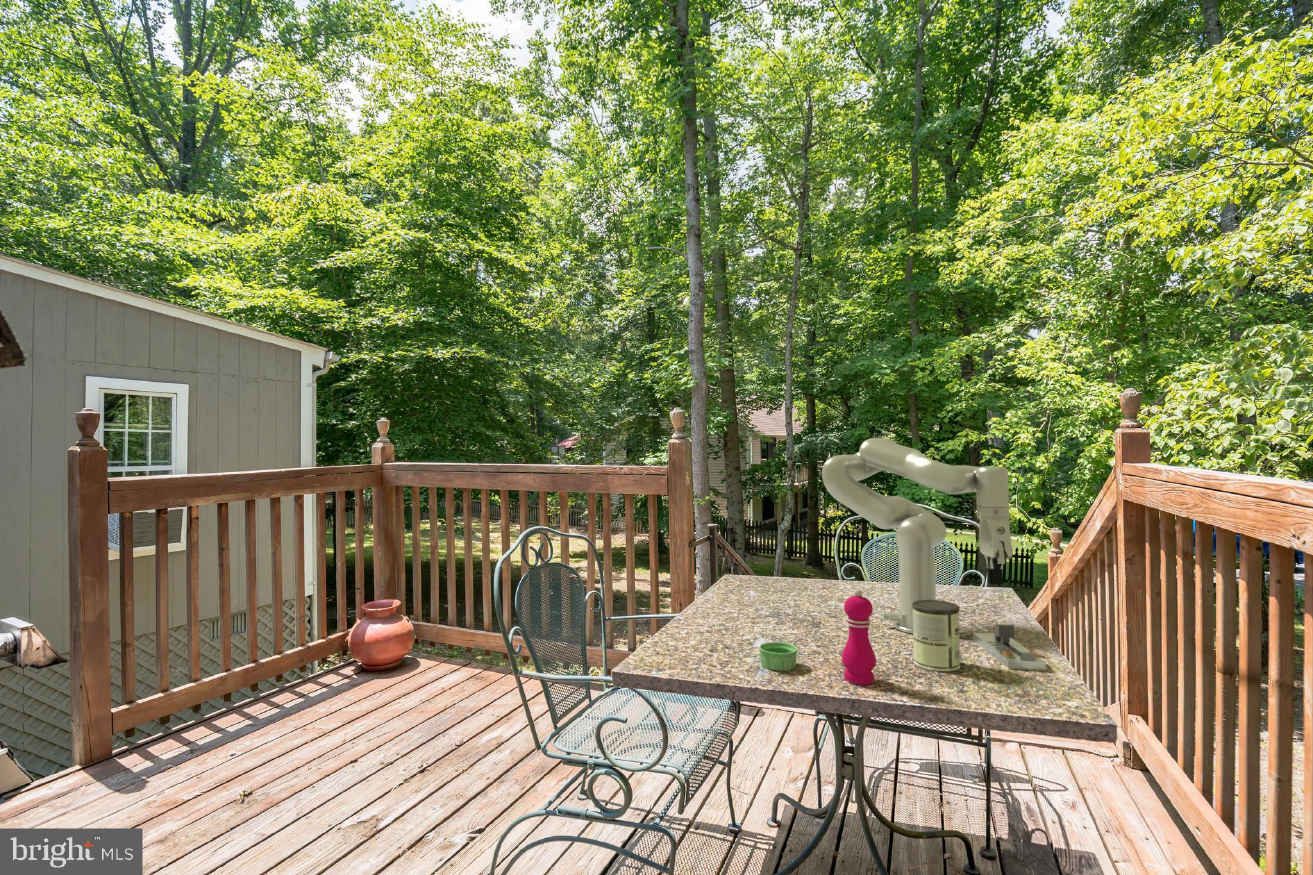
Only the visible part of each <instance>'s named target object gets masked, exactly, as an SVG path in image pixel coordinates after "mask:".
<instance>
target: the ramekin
mask: <svg viewBox="0 0 1313 875" xmlns="http://www.w3.org/2000/svg"><path fill="white" fill-rule="evenodd" d="M758 649H759V654H760V664H761V666H762V667H763V668H764V667H765V668H764V669H766V668H767V669H766V670H769V669H771V670H770V671H773V670H789V669H792V670H794V669H795V668H796V667H797V665H796V664H797V654H798V650H799V649H798V647H797V646H796V645H794V644H793V643H792V644H791V643H789V642H788V643H787V642H782V641H771V642H764V643H762V644H760V645H759V646H758ZM794 667H795V668H794ZM793 668H794V669H793ZM789 671H790V670H789Z"/></svg>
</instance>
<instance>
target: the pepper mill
mask: <svg viewBox="0 0 1313 875" xmlns="http://www.w3.org/2000/svg"><path fill="white" fill-rule="evenodd" d="M843 608H844V609H843V611H844V613H845V615H847V617H846V620H847V621H846V625H848V637H847V641H846V644H845V646H844V648H843V650H842V655H841V663H842V665H843V666H844V667H845V669H844V672H843V675H844V677H843V678H844V680H846V681H845V682H847V681H849V682H850V683H849V682H848V683H849V684H851V683H856V684H860V685H859V686H869V685H868V684H870V685H872V684H874V682H875V674H874V672H873V670H874V669H875V667H876V666H877V660H876V653H875V651H874V649H873V648H872V645H871V643H870V638H869V627H870V626H871V619H870V617H871V615H873V610H874V609H873V604H872V602H871V601H870V599H869V598H868V597H865V596H863V591H862V589H860V588H855V589H854V591H853V595H852V596H850V597H848V598H847V599H846V600H845V601H844V606H843ZM871 683H872V684H871Z"/></svg>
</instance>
